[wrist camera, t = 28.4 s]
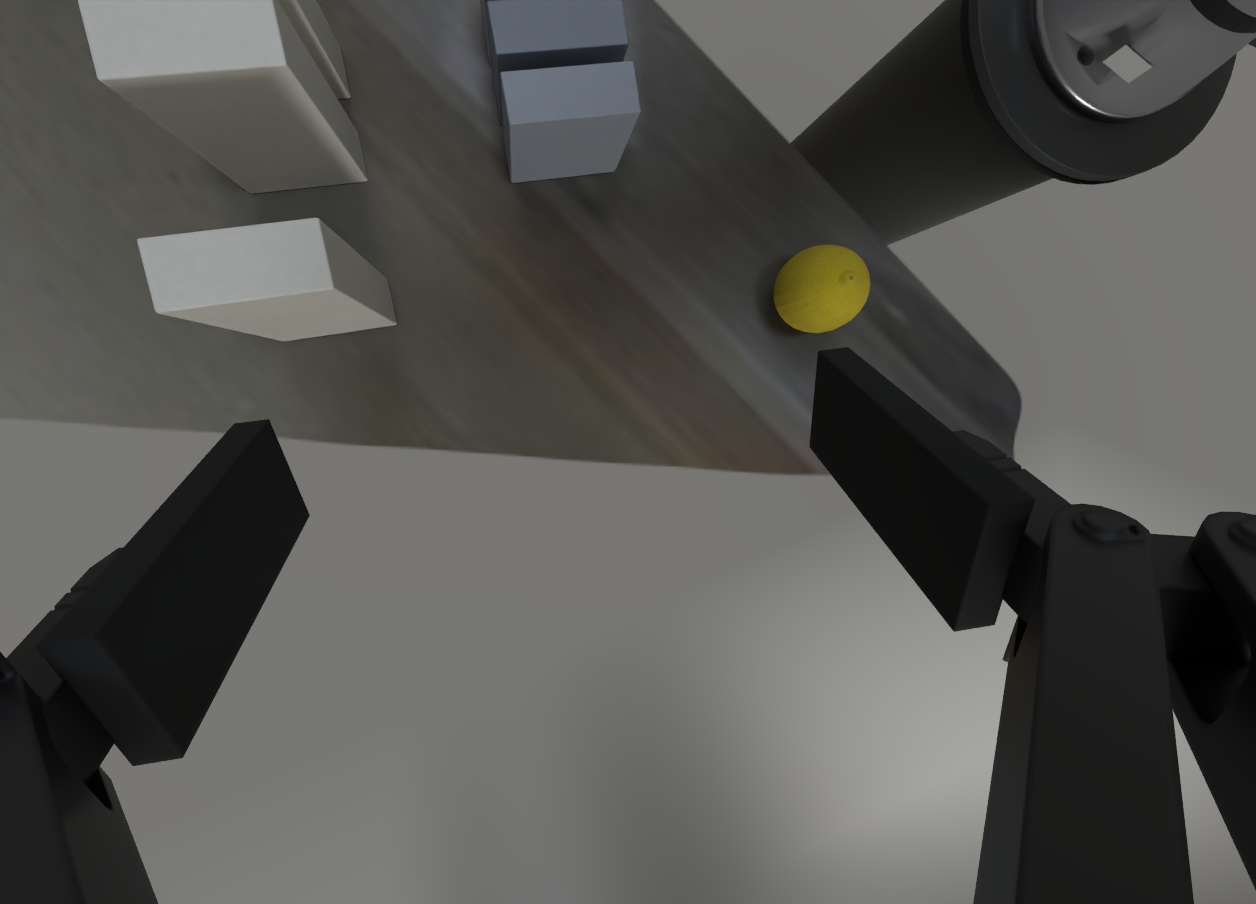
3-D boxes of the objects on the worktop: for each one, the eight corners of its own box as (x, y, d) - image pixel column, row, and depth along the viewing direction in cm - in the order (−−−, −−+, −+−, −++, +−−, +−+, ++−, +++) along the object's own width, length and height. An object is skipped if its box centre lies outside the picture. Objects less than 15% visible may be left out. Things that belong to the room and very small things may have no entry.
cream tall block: (397, 325, 40) (334, 289, 26) (283, 341, 39) (154, 313, 25) (387, 278, 40) (318, 216, 26) (271, 293, 38) (135, 238, 25)
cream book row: (368, 181, 39) (286, 65, 25) (250, 194, 38) (96, 79, 24) (340, 47, 38) (239, -151, 24) (218, 56, 37) (39, -146, 23)
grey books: (615, 171, 41) (643, 108, 32) (511, 183, 40) (509, 121, 31) (590, 17, 40) (611, -96, 31) (482, 24, 39) (471, -89, 30)
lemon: (842, 290, 45) (910, 268, 37) (800, 353, 45) (860, 344, 37) (784, 243, 44) (842, 210, 36) (741, 308, 44) (790, 289, 36)
